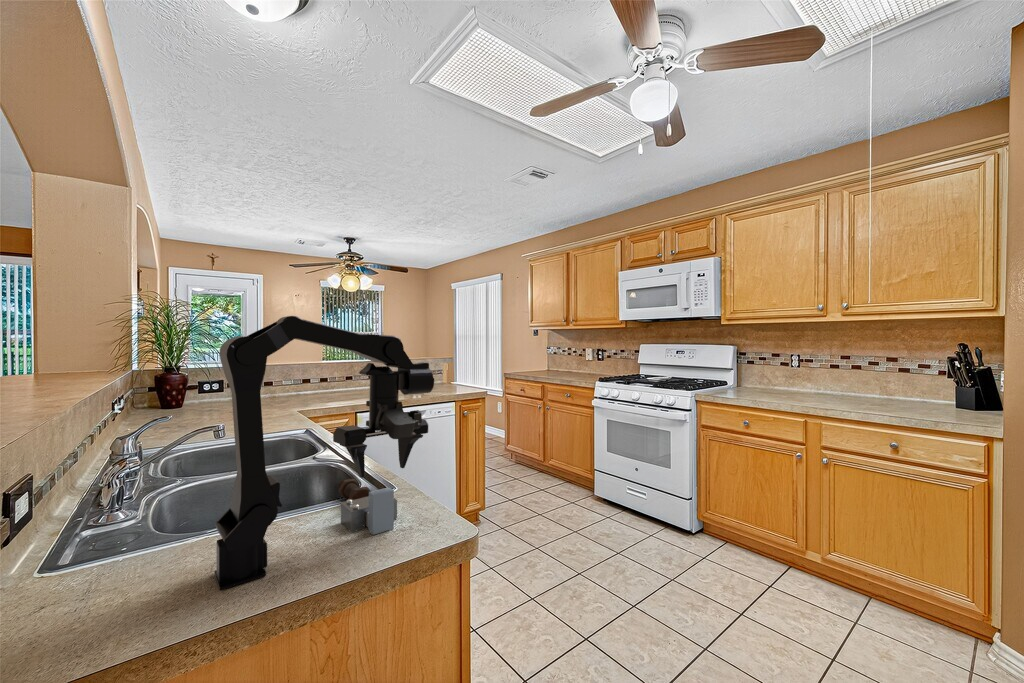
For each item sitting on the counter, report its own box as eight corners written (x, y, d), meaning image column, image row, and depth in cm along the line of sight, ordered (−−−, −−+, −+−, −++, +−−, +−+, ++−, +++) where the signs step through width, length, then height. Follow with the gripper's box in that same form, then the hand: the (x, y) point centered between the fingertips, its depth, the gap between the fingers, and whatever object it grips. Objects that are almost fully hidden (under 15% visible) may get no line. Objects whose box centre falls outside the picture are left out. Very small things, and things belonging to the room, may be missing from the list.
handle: (373, 534, 87) (373, 495, 87) (355, 520, 94) (356, 483, 93) (393, 528, 90) (393, 490, 90) (375, 514, 96) (375, 479, 96)
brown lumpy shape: (347, 498, 112) (365, 516, 100) (329, 492, 109) (346, 509, 97) (359, 476, 114) (378, 491, 101) (341, 470, 111) (359, 484, 99)
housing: (351, 532, 88) (351, 508, 88) (340, 522, 93) (340, 500, 93) (397, 518, 95) (397, 497, 95) (385, 510, 99) (385, 489, 99)
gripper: (360, 405, 77) (358, 493, 77) (444, 396, 90) (443, 471, 90) (332, 398, 84) (331, 478, 84) (414, 391, 98) (413, 460, 98)
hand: (382, 472), depth 89 cm, fingers open, 9 cm apart
